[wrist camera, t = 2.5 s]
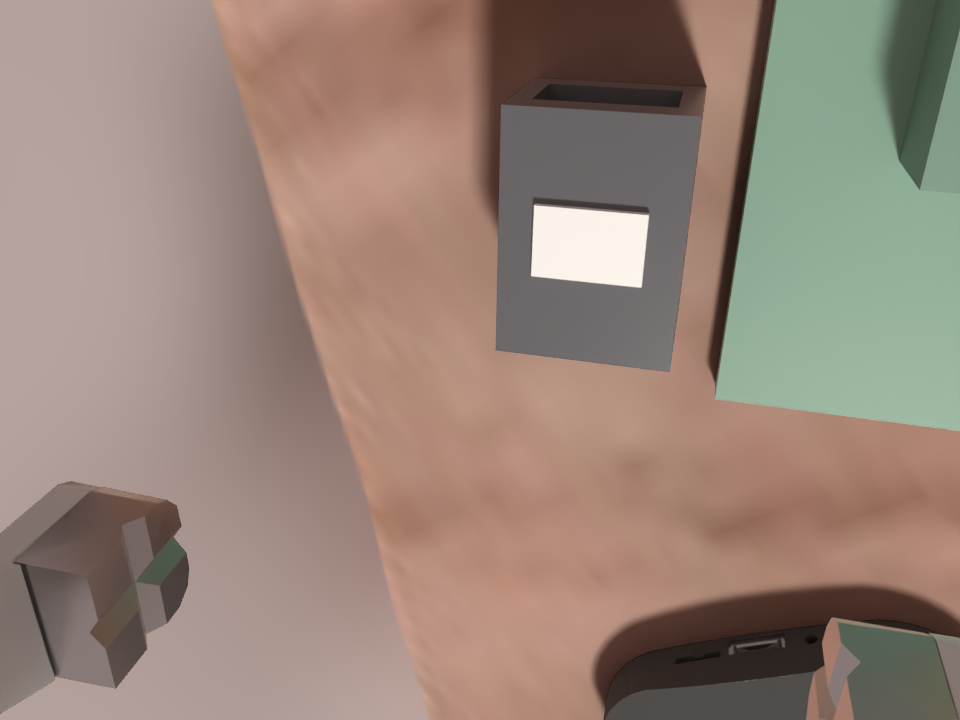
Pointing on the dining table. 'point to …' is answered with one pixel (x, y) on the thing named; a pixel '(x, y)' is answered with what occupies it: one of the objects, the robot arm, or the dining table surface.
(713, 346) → the dining table surface
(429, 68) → the dining table surface
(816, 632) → the media streaming box
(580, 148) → the labelled grey storage bin
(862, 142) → the board
